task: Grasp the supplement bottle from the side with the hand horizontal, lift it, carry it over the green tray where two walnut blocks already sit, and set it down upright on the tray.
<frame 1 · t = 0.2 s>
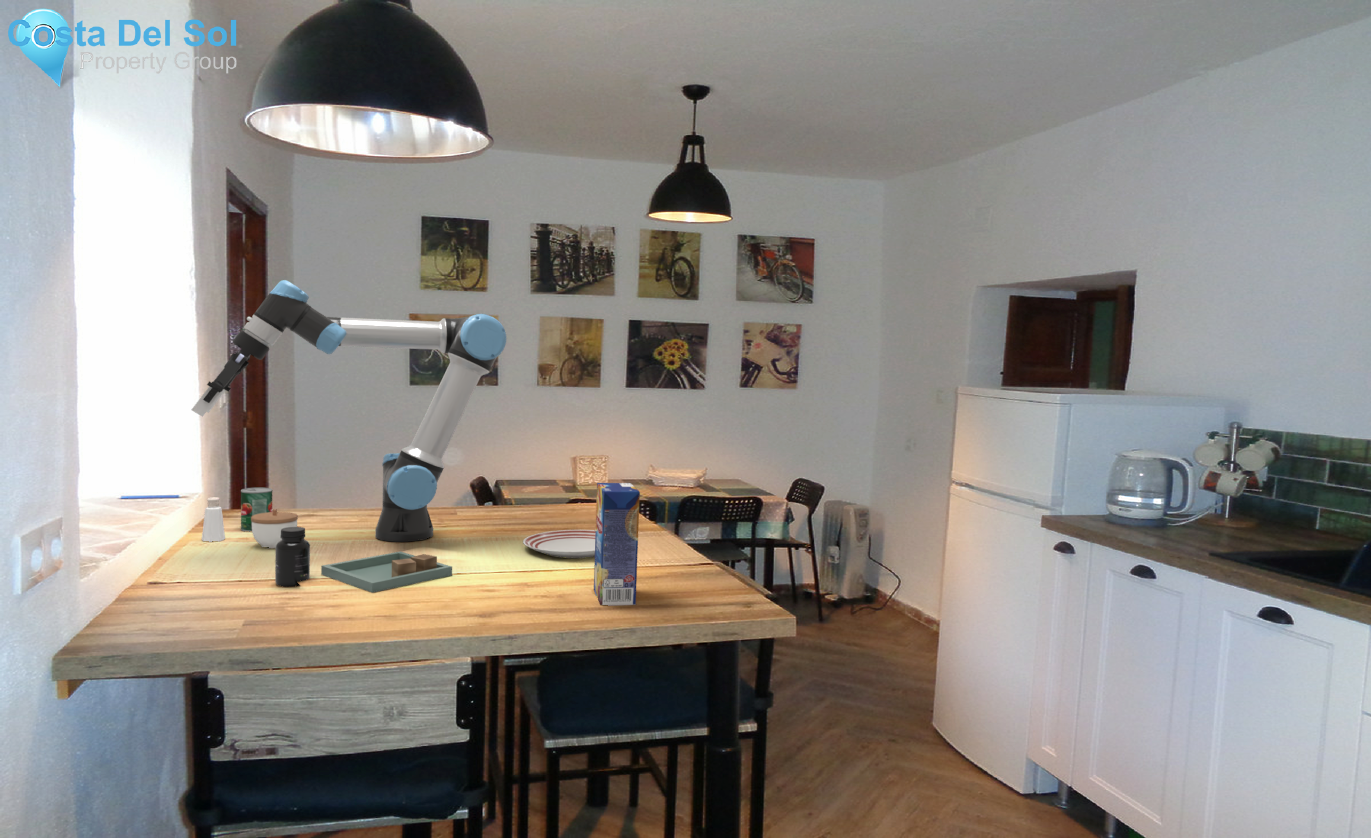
hand: (200, 411, 201), 35 cm above the table, tool tilted 35°, fingers open, 13 cm apart
canned tomato: (256, 529, 237), on the table
lidded jar: (274, 546, 219), on the table
supplement bottle: (292, 584, 186), on the table
walnut block a: (423, 574, 194), point 1 cm above the table, touching tray
walnut block b: (403, 579, 189), point 1 cm above the table, touching tray
juice carton: (614, 598, 185), on the table
tray: (387, 579, 192), on the table
dinner plate: (575, 551, 227), on the table
pepper shaker: (213, 540, 223), on the table
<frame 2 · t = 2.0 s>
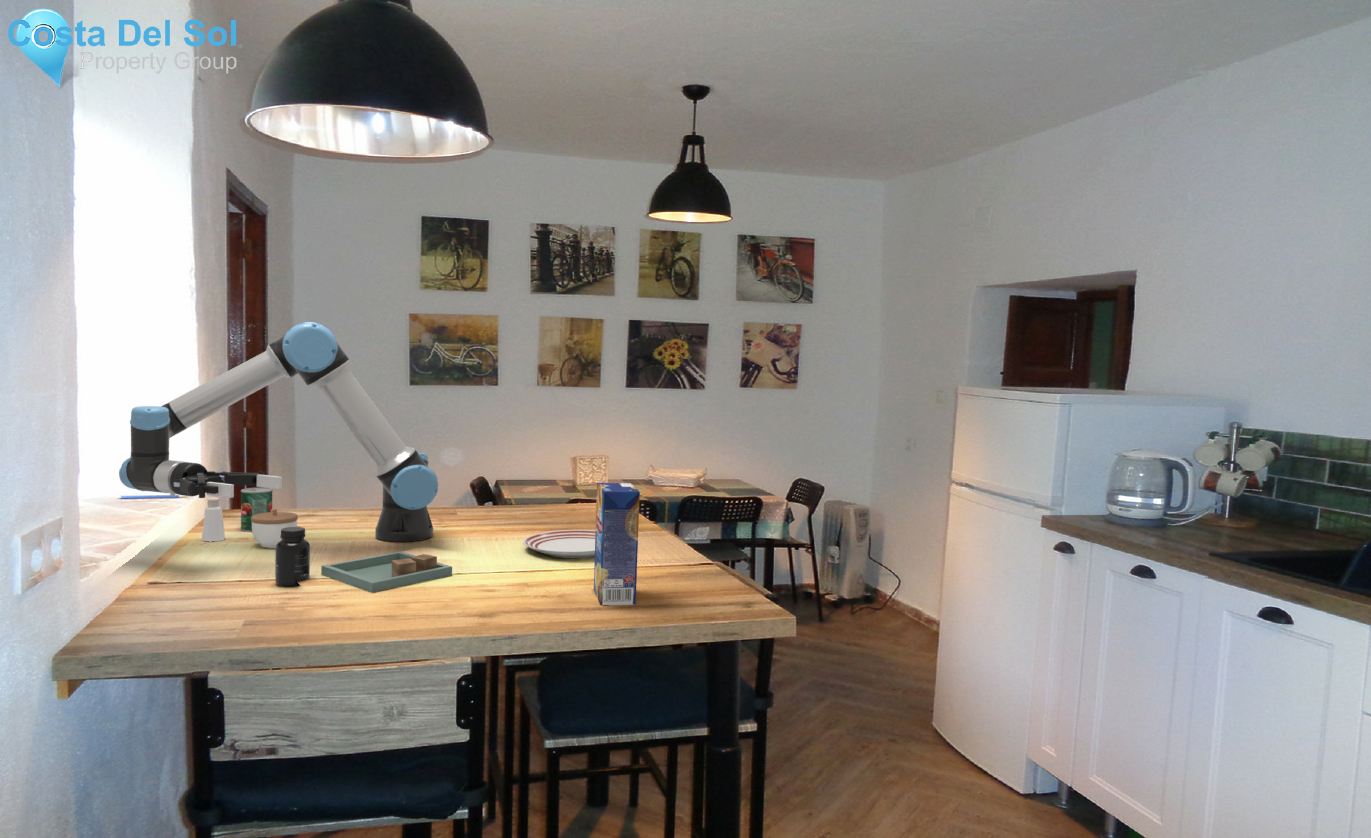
hand: (257, 487, 188), 20 cm above the table, tool horizontal, fingers open, 13 cm apart
nothing on the table moved.
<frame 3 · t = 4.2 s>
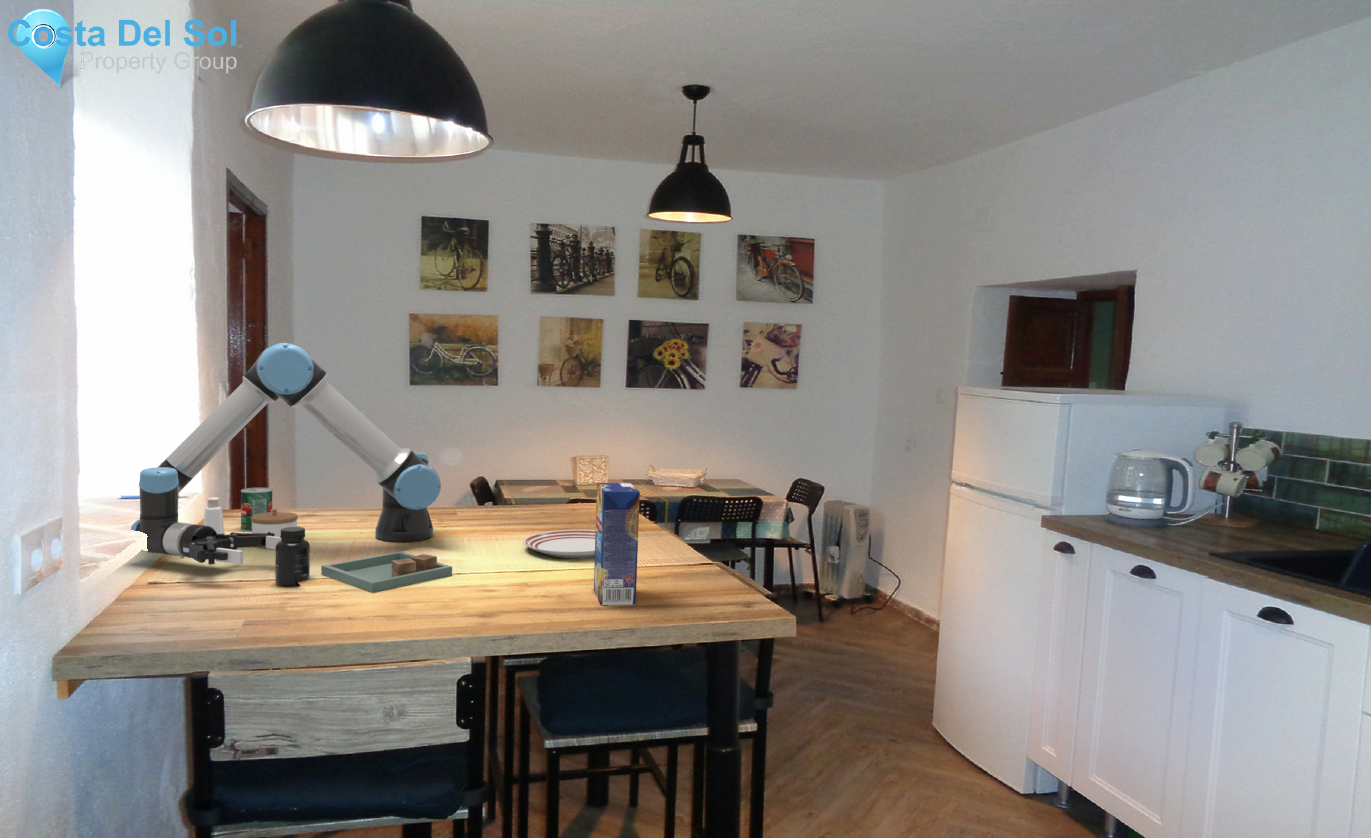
hand: (266, 551, 187), 6 cm above the table, tool horizontal, fingers open, 13 cm apart
nothing on the table moved.
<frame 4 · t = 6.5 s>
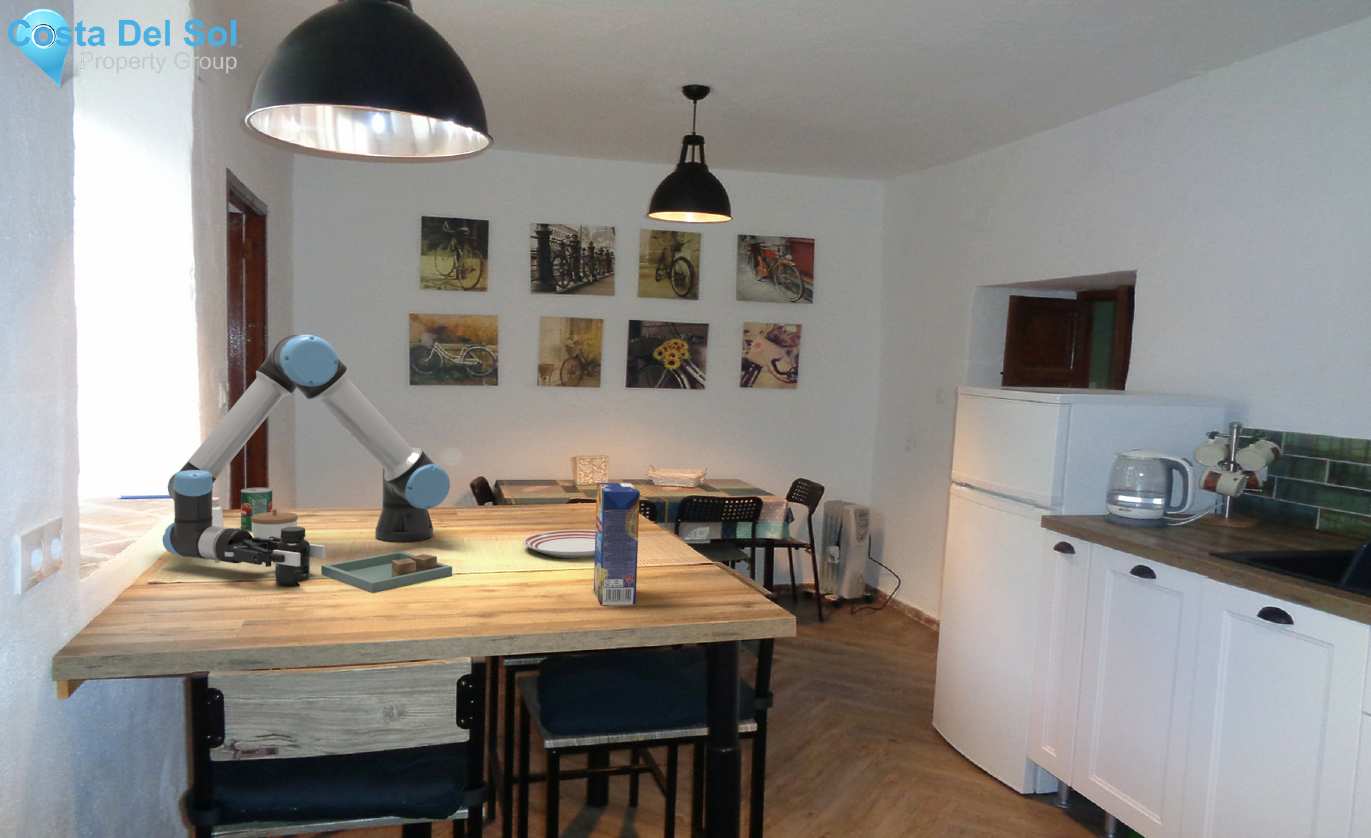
hand: (311, 556, 184), 7 cm above the table, tool horizontal, fingers closed on supplement bottle, 7 cm apart
supplement bottle: (292, 584, 186), on the table, touching gripper
everything else where it was.
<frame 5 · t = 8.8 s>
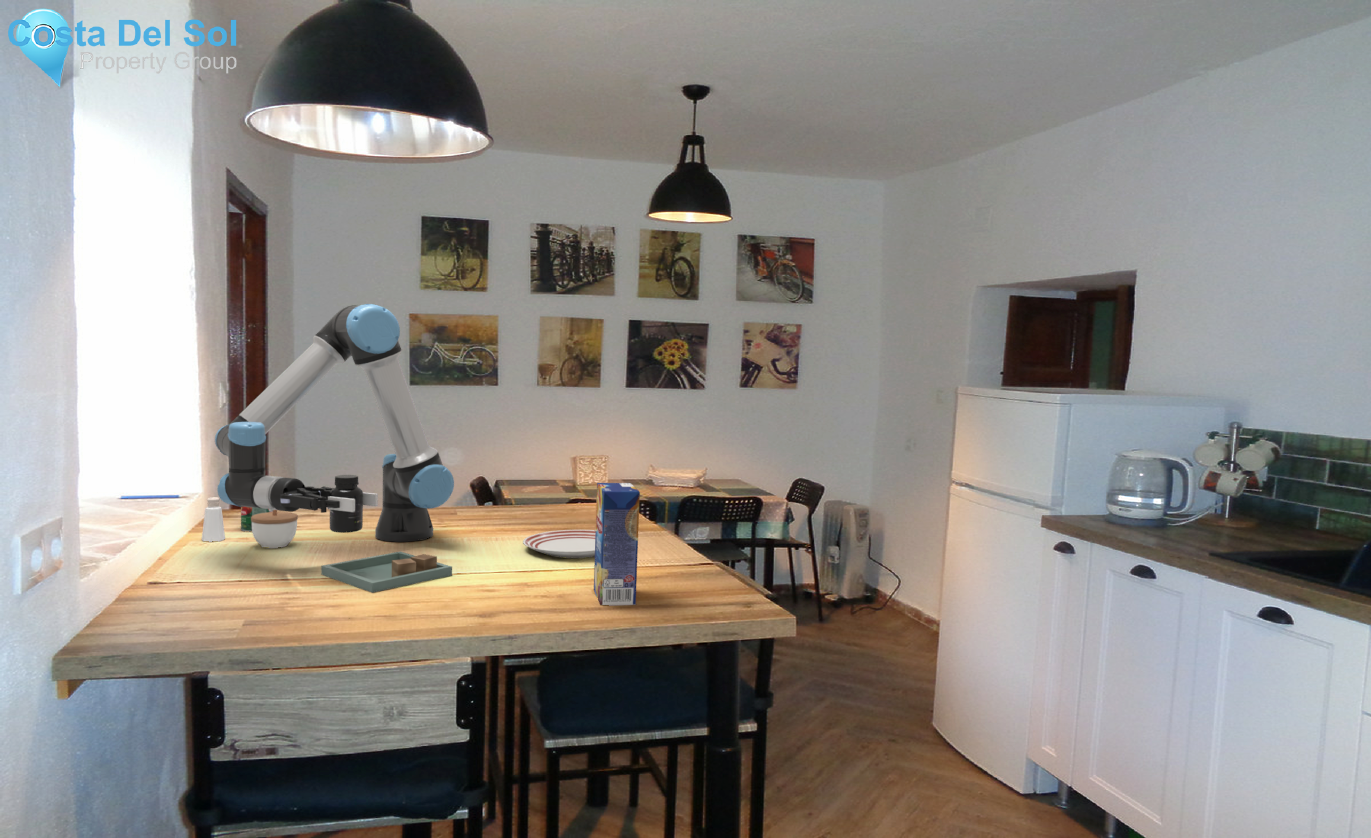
hand: (365, 502, 187), 18 cm above the table, tool horizontal, fingers closed on supplement bottle, 7 cm apart
supplement bottle: (346, 530, 189), point 11 cm above the table, touching gripper
everything else where it was.
when the fingers open (9 cm above the table, at t = 11.3 s): supplement bottle drops 1 cm, resting on tray.
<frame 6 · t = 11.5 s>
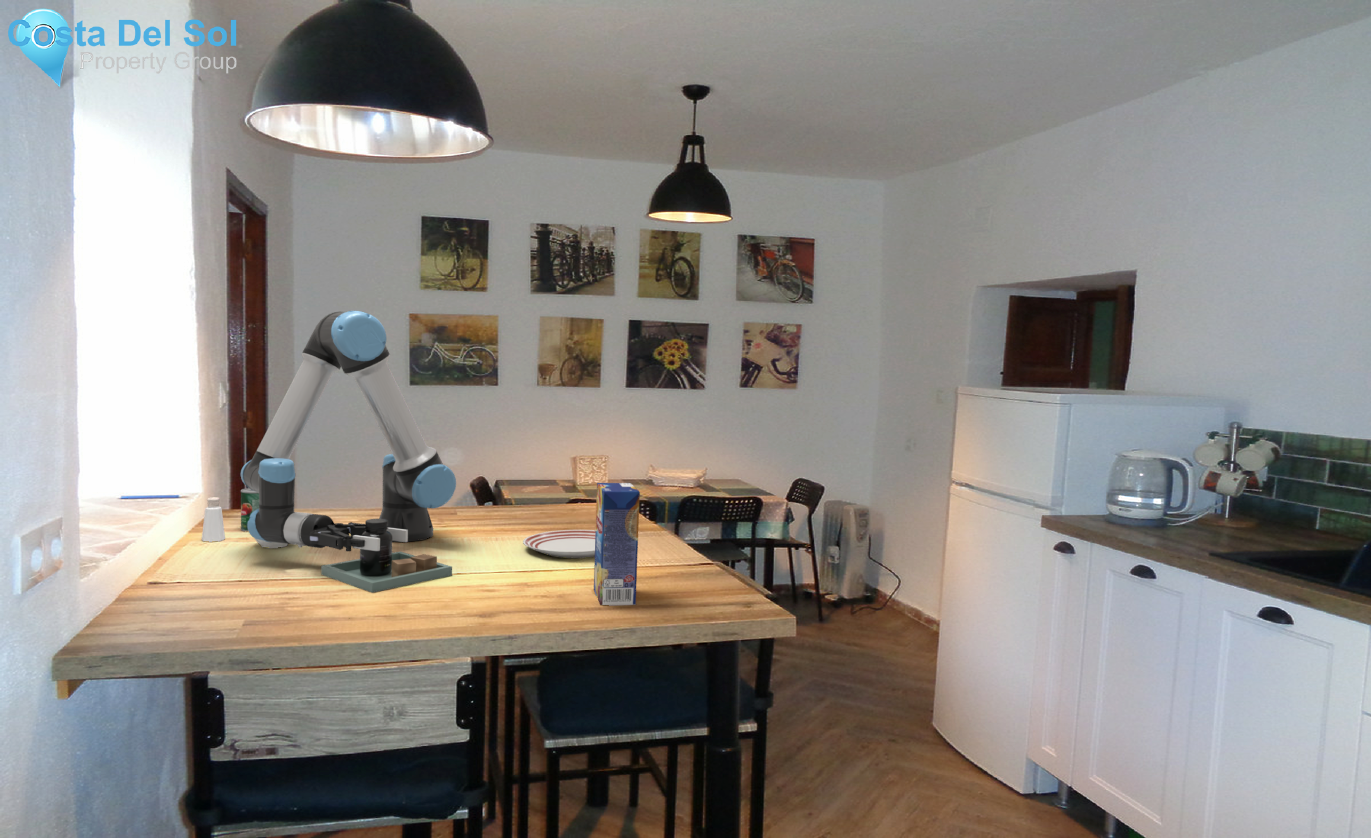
hand: (393, 540, 191), 9 cm above the table, tool horizontal, fingers open, 9 cm apart
supplement bottle: (375, 573, 193), point 1 cm above the table, touching tray
everything else where it was.
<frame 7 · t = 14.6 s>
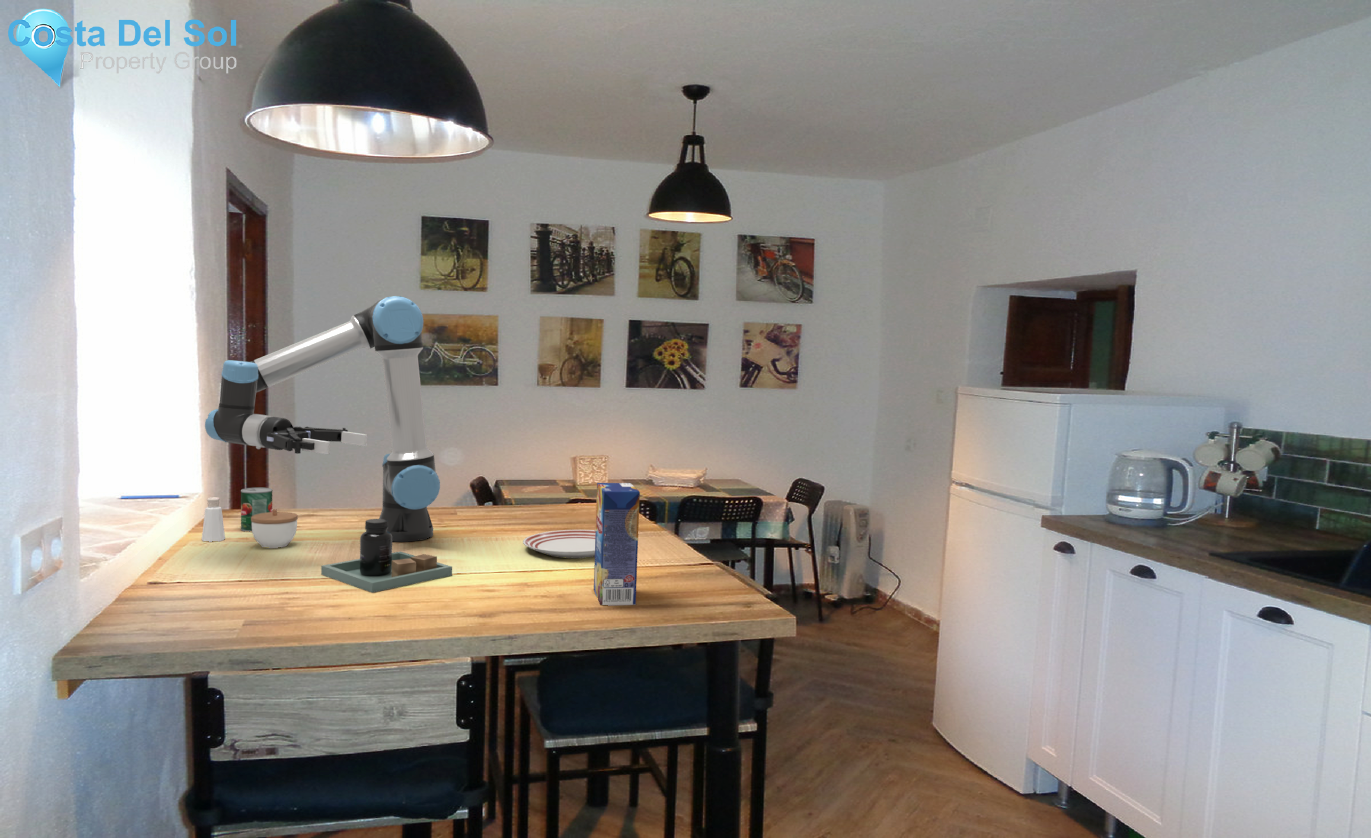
hand: (348, 444, 195), 29 cm above the table, tool horizontal, fingers open, 13 cm apart
nothing on the table moved.
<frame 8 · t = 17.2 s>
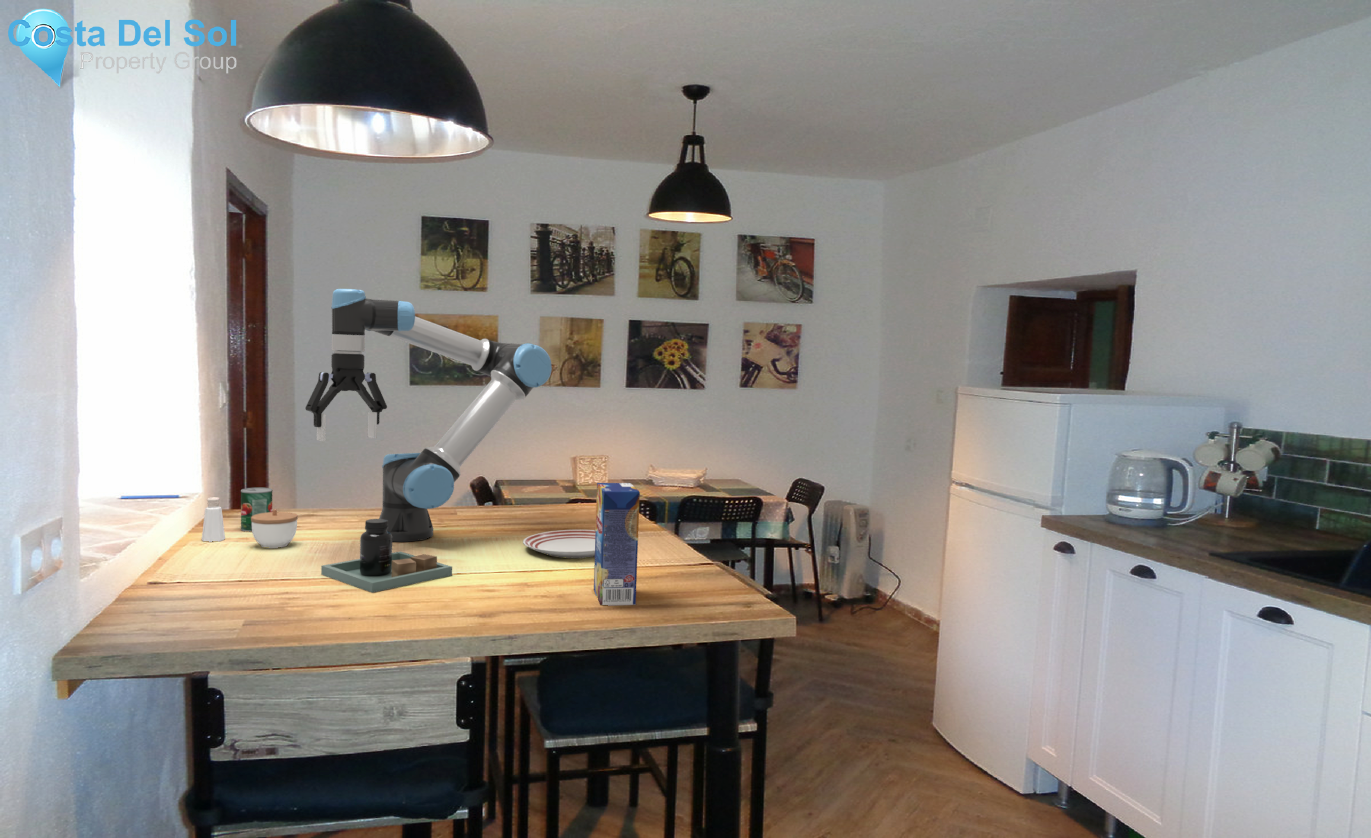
hand: (347, 439, 211), 29 cm above the table, tool pointing down, fingers open, 13 cm apart
nothing on the table moved.
at the end: supplement bottle inside the target area on the tray (3.2 cm from its centre), point 0.8 cm above the tray's base; supplement bottle tilted 0°; the gripper is holding nothing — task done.
